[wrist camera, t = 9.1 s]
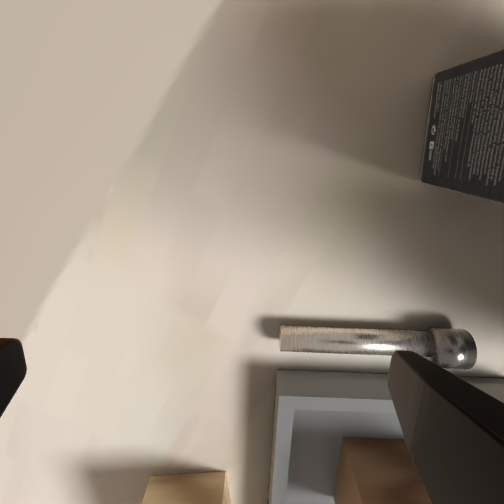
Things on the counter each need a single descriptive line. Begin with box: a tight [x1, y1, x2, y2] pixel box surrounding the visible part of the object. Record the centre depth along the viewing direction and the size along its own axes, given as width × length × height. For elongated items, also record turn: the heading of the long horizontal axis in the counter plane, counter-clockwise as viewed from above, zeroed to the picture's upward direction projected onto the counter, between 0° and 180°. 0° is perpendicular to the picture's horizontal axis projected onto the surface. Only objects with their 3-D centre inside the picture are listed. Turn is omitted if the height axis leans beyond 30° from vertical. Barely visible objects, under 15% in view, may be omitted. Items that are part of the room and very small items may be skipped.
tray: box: [268, 370, 504, 504], centre depth 24 cm, size 16×16×2 cm
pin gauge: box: [279, 325, 477, 369], centre depth 21 cm, size 12×2×2 cm, turn 88°
